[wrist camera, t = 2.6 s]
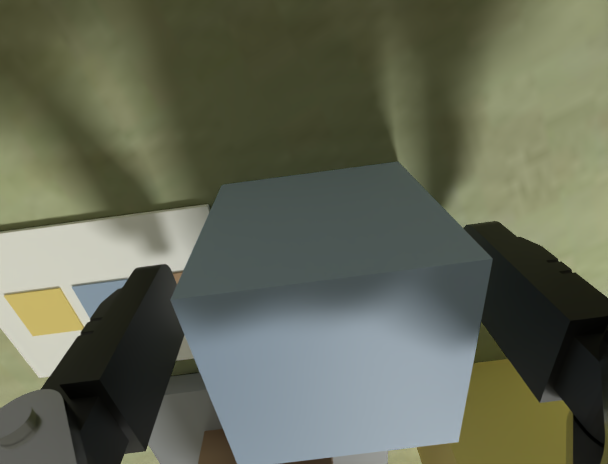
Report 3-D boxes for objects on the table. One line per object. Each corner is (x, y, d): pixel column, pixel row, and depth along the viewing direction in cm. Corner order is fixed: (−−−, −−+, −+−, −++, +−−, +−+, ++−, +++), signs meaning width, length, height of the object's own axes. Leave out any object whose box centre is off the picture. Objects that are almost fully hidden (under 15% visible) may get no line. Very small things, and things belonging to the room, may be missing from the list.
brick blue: (397, 160, 10) (493, 258, 5) (394, 296, 12) (458, 442, 8) (222, 183, 10) (170, 299, 5) (255, 314, 12) (239, 468, 8)
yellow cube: (539, 353, 14) (657, 495, 9) (516, 424, 16) (601, 563, 12) (418, 368, 14) (479, 517, 10) (413, 436, 16) (460, 579, 12)
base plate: (382, 350, 13) (387, 367, 12) (383, 479, 18) (387, 497, 17) (129, 381, 13) (120, 400, 13) (198, 501, 18) (195, 520, 17)
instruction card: (208, 203, 10) (207, 206, 10) (249, 348, 13) (249, 352, 12) (-62, 239, 10) (-69, 243, 10) (41, 374, 13) (38, 379, 13)
